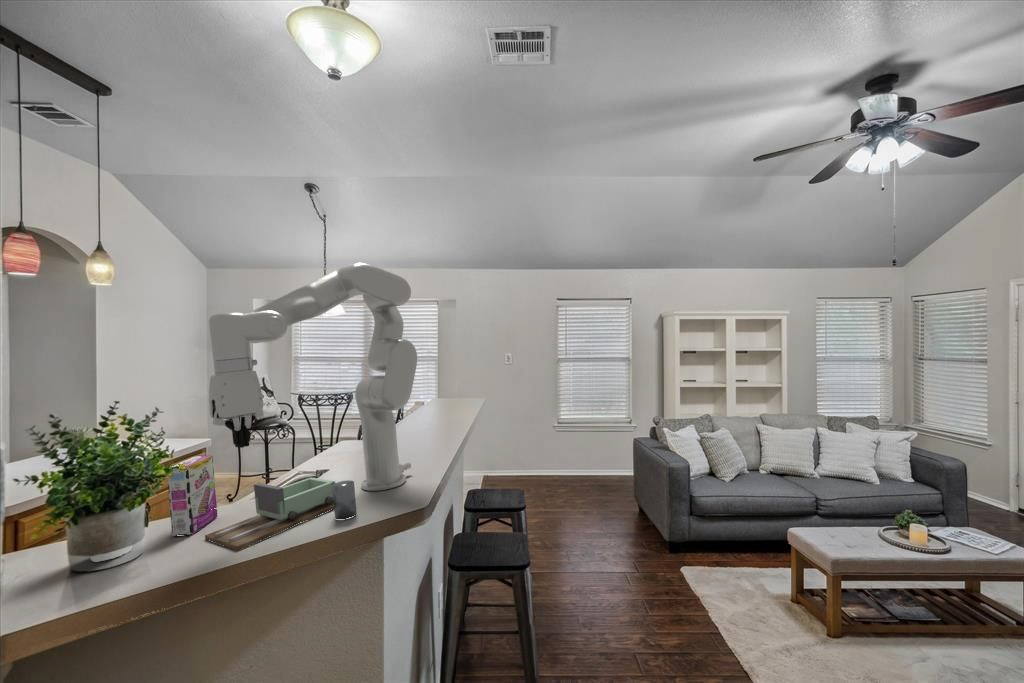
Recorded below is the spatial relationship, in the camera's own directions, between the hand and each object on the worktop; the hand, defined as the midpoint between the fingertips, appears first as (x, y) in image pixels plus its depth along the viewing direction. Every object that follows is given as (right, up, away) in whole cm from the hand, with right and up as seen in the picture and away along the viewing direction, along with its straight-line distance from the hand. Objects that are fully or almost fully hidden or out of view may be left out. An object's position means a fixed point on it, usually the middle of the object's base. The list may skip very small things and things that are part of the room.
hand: (242, 446), depth 107 cm
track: (+6, -20, +7) cm, 22 cm away
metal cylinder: (+22, -18, +6) cm, 29 cm away
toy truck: (+8, -18, +11) cm, 22 cm away
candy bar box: (-15, -22, +7) cm, 28 cm away
